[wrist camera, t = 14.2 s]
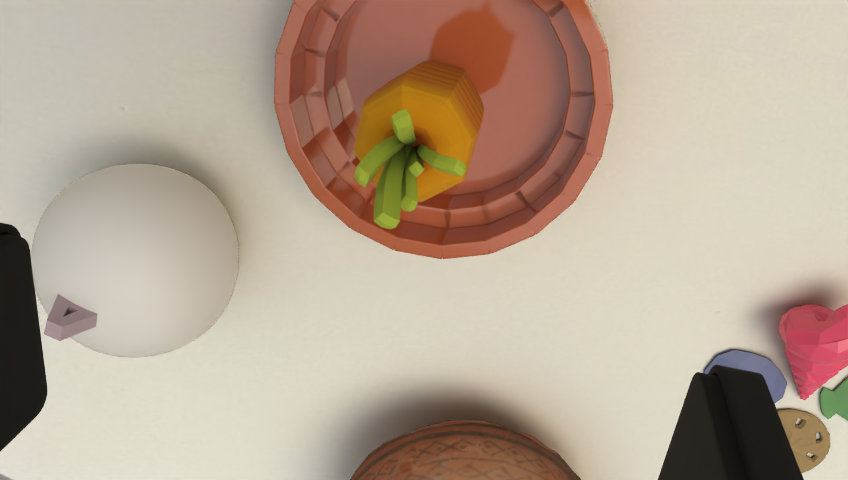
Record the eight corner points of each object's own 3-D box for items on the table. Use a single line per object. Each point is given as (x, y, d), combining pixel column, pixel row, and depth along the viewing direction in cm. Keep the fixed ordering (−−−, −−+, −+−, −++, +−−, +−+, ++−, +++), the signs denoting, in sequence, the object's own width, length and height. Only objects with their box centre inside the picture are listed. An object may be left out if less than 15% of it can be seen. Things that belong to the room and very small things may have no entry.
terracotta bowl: (314, -103, 37) (279, -103, 32) (639, -60, 35) (649, -54, 30) (300, 194, 43) (269, 228, 39) (572, 242, 42) (572, 283, 37)
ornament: (119, 291, 48) (-10, 403, 38) (89, 136, 44) (-65, 213, 33) (271, 304, 47) (183, 426, 36) (256, 145, 43) (150, 229, 32)
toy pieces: (669, 326, 43) (679, 369, 39) (883, 264, 39) (919, 304, 35) (732, 486, 46) (747, 540, 42) (933, 442, 43) (970, 497, 39)
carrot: (441, 13, 37) (368, 78, 24) (520, 75, 38) (493, 174, 24) (384, 91, 39) (287, 192, 26) (460, 150, 40) (404, 278, 26)
